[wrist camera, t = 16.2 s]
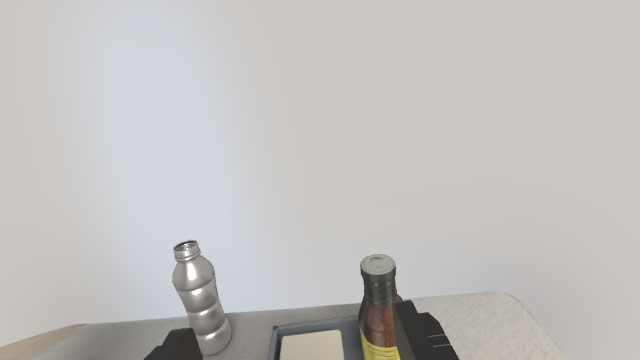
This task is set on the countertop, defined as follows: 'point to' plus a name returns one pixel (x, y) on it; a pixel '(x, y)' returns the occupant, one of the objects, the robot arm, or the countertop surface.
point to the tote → (345, 325)
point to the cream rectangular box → (313, 346)
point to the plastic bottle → (200, 297)
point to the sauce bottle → (378, 308)
